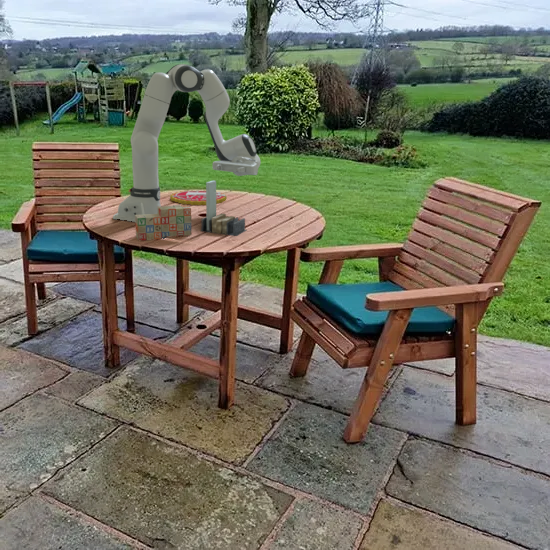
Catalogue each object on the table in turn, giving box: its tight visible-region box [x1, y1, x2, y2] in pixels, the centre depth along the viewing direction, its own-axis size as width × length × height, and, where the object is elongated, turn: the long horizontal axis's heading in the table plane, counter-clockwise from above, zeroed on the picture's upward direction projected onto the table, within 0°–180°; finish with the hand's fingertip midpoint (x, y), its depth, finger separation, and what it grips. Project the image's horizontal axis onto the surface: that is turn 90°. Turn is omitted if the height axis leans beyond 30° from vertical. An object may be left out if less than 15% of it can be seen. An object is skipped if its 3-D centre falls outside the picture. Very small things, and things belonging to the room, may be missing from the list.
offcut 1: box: [212, 213, 227, 234], centre depth 222 cm, size 2×9×6 cm, turn 159°
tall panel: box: [205, 180, 217, 230], centre depth 221 cm, size 2×6×20 cm, turn 159°
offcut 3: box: [222, 215, 236, 234], centre depth 220 cm, size 2×8×6 cm, turn 159°
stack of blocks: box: [134, 204, 193, 241], centre depth 212 cm, size 21×6×12 cm, turn 112°
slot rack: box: [200, 216, 248, 237], centre depth 221 cm, size 17×11×6 cm, turn 69°
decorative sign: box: [169, 189, 228, 206], centre depth 284 cm, size 30×3×30 cm
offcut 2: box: [215, 215, 230, 235], centre depth 221 cm, size 2×10×5 cm, turn 159°
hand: (227, 169), depth 229 cm, fingers open, 8 cm apart
